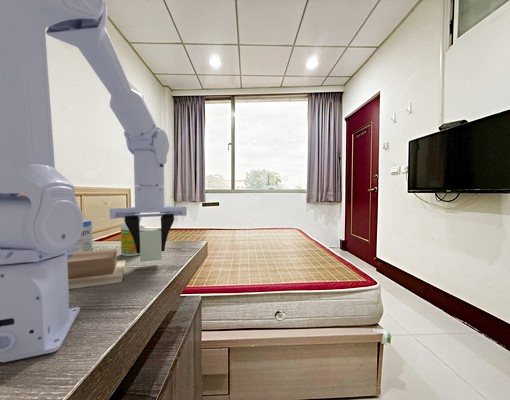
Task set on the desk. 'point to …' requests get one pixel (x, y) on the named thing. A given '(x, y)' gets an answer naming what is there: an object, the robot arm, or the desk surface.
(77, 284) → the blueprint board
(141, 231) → the sage pillar
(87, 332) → the desk surface
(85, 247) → the medicine box
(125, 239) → the supplement bottle
